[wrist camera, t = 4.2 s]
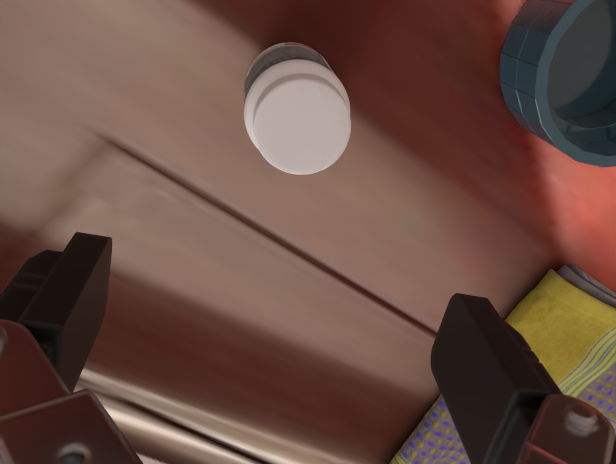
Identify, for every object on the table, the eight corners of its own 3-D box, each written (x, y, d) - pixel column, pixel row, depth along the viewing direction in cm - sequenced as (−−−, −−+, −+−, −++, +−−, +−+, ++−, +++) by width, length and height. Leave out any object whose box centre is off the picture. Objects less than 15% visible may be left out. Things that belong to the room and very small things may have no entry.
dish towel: (345, 491, 44) (351, 523, 42) (564, 240, 37) (586, 261, 34) (515, 560, 50) (529, 592, 47) (738, 353, 42) (769, 378, 39)
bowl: (471, 120, 33) (506, 146, 28) (534, -58, 29) (585, -60, 25) (616, 152, 35) (671, 182, 30) (693, -13, 31) (768, -7, 26)
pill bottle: (226, 84, 31) (217, 126, 23) (292, 21, 30) (305, 42, 22) (287, 148, 33) (297, 205, 25) (351, 90, 32) (382, 131, 24)
